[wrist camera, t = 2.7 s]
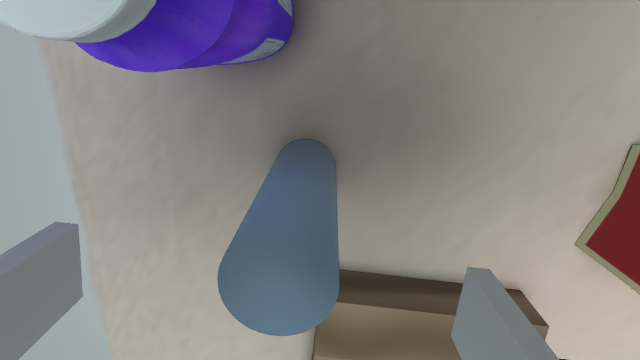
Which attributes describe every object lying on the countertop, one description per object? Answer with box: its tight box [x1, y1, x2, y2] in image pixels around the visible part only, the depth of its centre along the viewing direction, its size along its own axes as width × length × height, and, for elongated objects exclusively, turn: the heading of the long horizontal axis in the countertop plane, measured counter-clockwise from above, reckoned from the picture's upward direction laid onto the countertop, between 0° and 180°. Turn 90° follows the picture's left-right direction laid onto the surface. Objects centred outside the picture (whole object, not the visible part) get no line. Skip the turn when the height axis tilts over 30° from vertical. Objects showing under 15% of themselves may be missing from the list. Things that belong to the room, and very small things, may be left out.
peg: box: [218, 139, 339, 336], centre depth 20 cm, size 4×4×14 cm
